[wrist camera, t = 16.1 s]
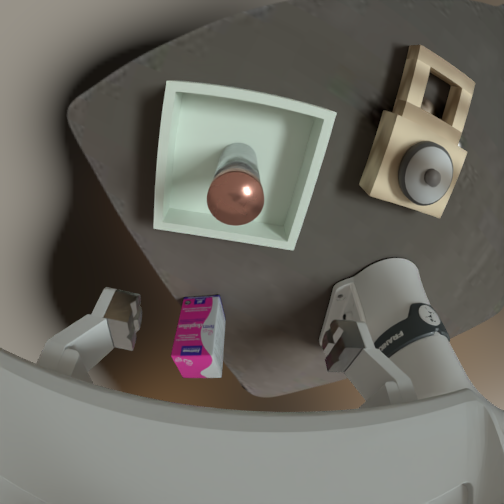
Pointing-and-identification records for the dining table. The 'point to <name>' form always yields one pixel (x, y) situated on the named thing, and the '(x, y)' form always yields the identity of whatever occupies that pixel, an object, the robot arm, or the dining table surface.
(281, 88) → the dining table surface
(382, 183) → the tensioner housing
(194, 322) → the supplement box
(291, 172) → the tray
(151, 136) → the dining table surface
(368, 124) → the dining table surface
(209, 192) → the lock pin
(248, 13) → the dining table surface
